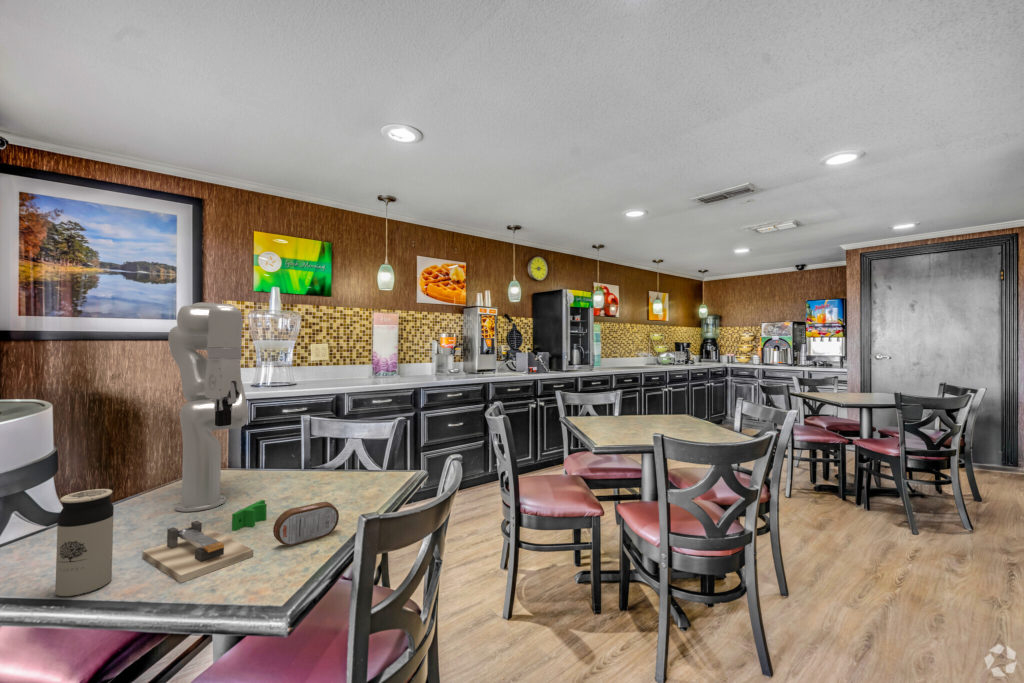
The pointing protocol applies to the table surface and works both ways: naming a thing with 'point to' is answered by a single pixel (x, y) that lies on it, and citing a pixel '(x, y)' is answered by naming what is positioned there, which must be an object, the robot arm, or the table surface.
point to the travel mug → (84, 542)
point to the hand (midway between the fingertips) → (223, 425)
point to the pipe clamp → (249, 515)
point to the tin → (305, 523)
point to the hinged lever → (200, 540)
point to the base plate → (194, 555)
